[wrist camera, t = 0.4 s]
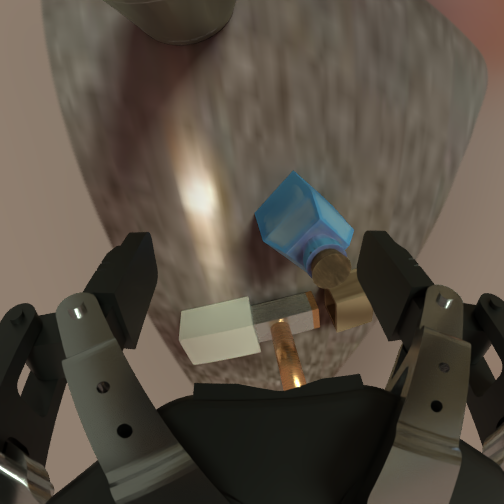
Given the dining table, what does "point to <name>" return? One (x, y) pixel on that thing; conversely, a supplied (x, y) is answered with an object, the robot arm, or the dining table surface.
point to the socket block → (348, 304)
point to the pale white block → (218, 331)
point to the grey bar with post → (286, 331)
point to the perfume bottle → (306, 231)
